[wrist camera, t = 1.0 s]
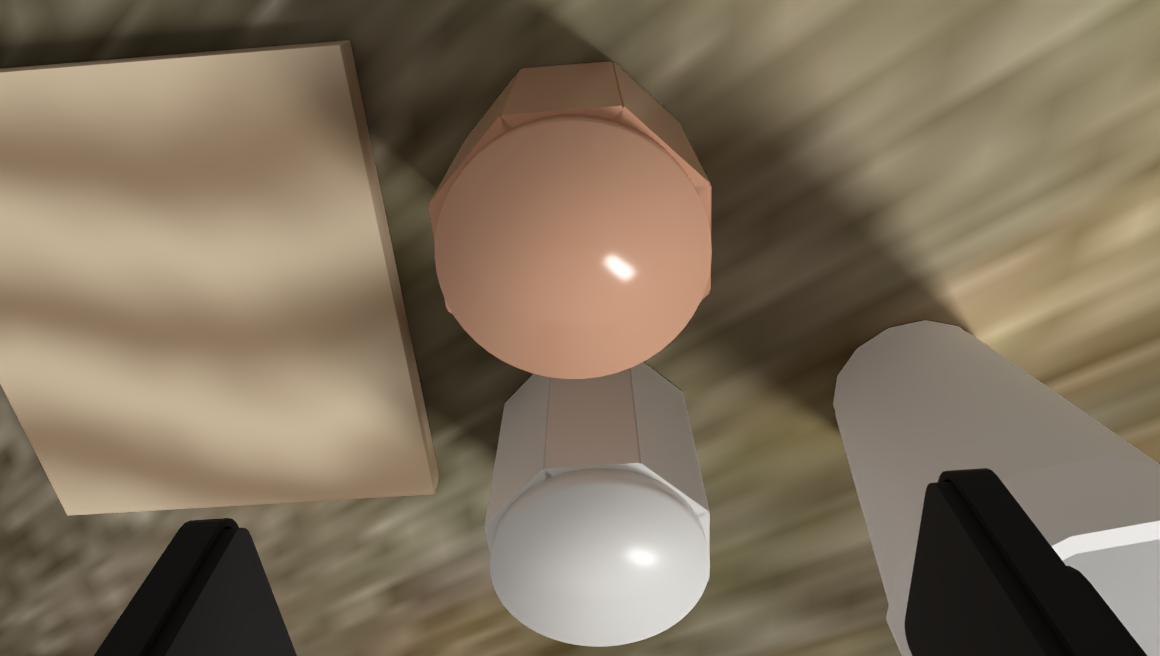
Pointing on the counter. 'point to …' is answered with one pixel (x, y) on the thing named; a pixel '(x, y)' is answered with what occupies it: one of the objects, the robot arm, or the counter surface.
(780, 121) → the counter surface
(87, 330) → the oak board
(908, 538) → the foam cup
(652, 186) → the pink acorn nut
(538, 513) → the white domed cap nut
